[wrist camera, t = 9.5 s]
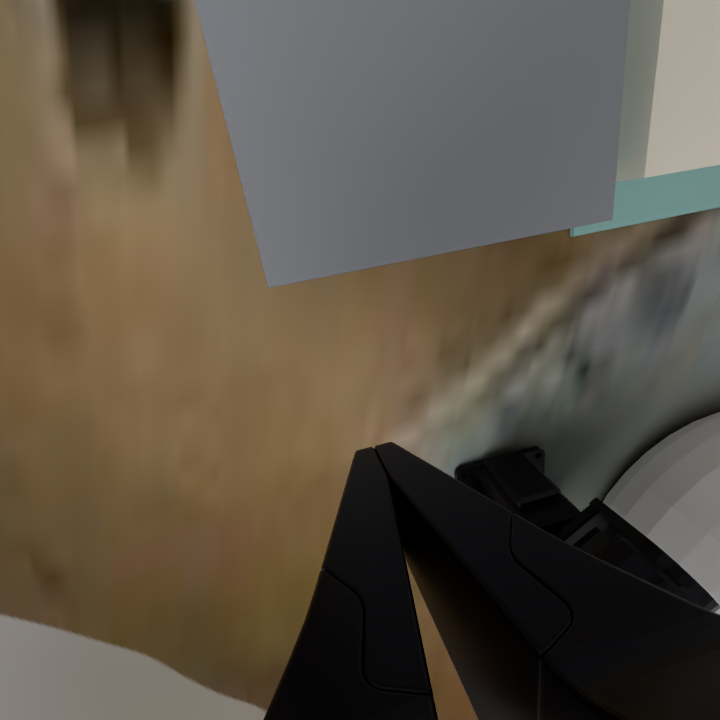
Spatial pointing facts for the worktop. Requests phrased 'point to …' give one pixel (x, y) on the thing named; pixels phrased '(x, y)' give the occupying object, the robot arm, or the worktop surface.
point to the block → (670, 89)
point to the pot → (678, 499)
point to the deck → (416, 123)
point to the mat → (660, 198)
